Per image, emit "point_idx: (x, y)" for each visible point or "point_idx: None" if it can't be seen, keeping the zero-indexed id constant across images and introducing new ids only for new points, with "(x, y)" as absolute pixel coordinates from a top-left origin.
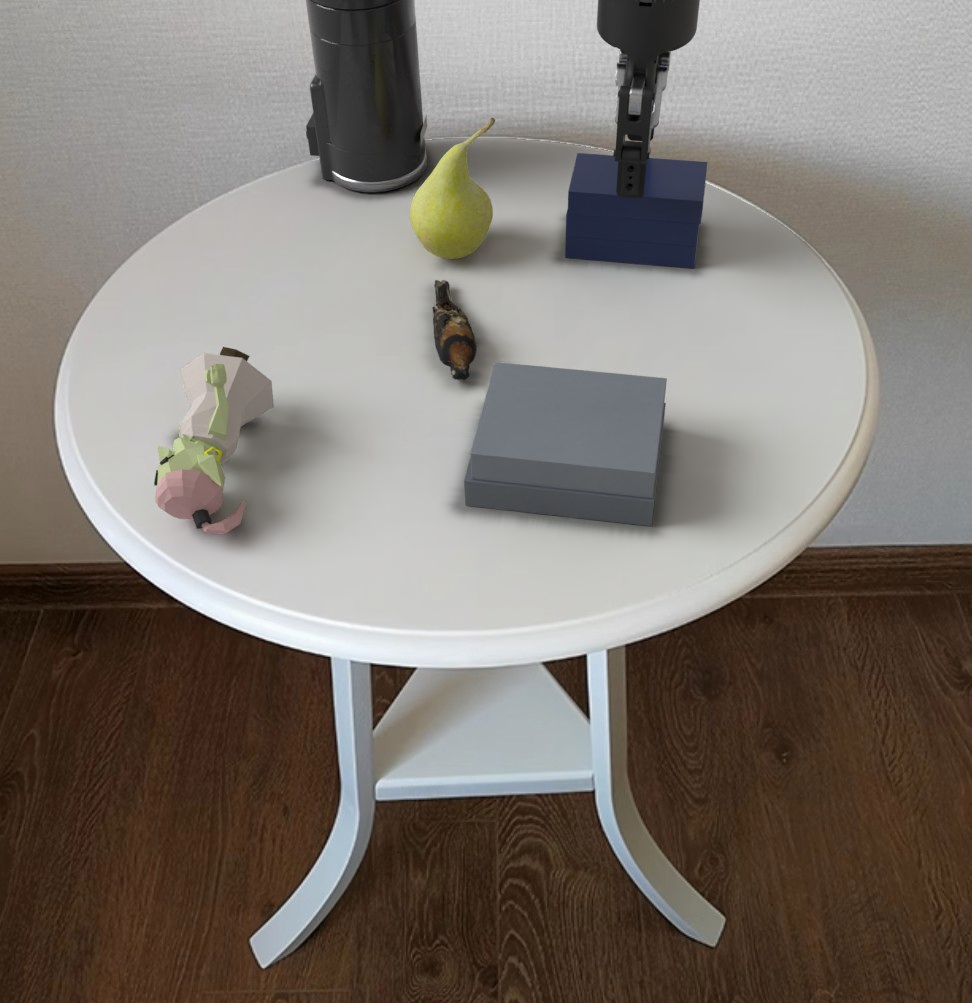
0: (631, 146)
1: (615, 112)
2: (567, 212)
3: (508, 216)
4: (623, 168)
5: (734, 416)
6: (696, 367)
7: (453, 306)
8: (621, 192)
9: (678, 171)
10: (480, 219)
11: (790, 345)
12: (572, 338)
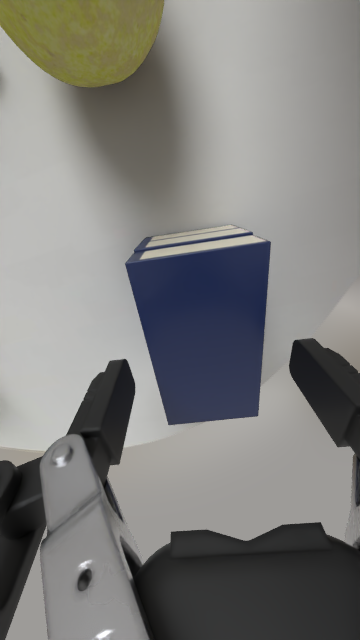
0: (2, 528)
1: (43, 583)
2: (138, 250)
3: (223, 107)
4: (74, 422)
5: (15, 407)
6: (47, 381)
7: None
8: (97, 376)
9: (230, 395)
10: (35, 50)
11: None
12: (16, 285)
